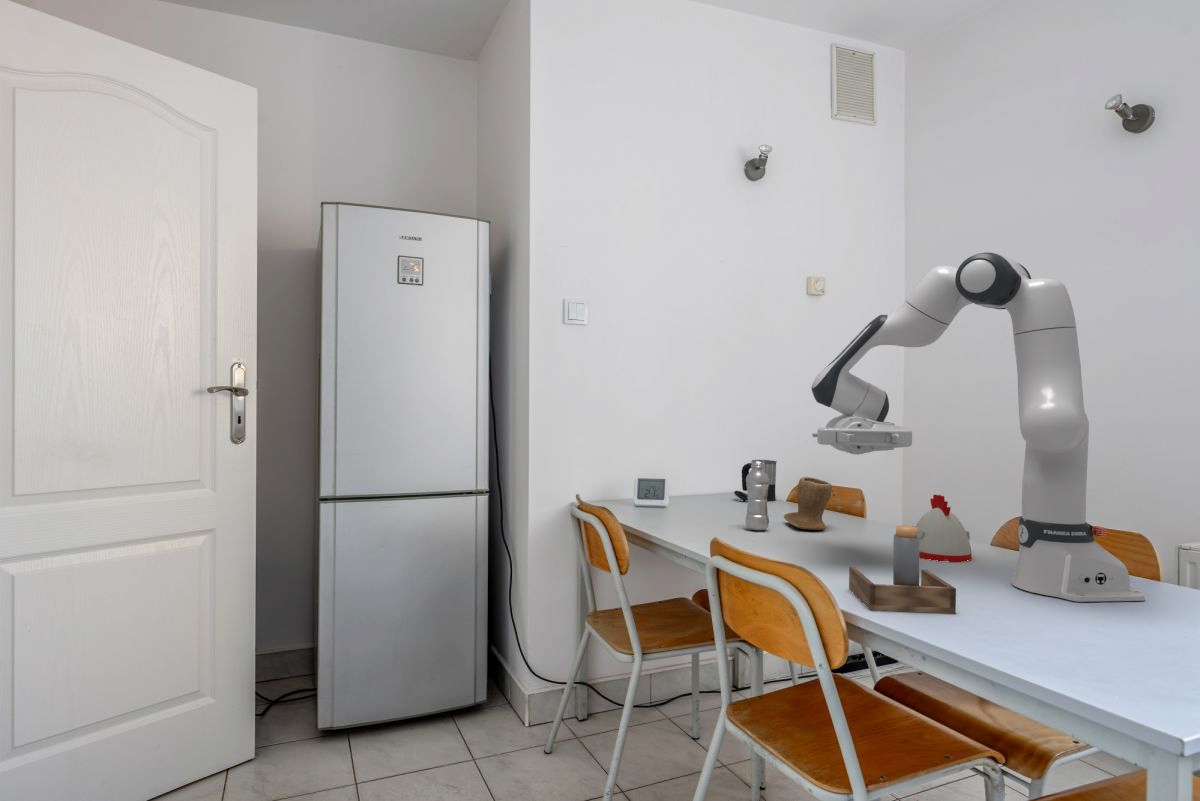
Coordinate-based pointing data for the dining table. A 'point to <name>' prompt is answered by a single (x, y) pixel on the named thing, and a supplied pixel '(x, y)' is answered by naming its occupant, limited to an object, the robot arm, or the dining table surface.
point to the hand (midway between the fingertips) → (873, 438)
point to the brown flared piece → (810, 504)
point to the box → (905, 594)
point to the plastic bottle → (757, 497)
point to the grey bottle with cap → (906, 556)
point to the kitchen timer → (942, 534)
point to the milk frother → (771, 473)
